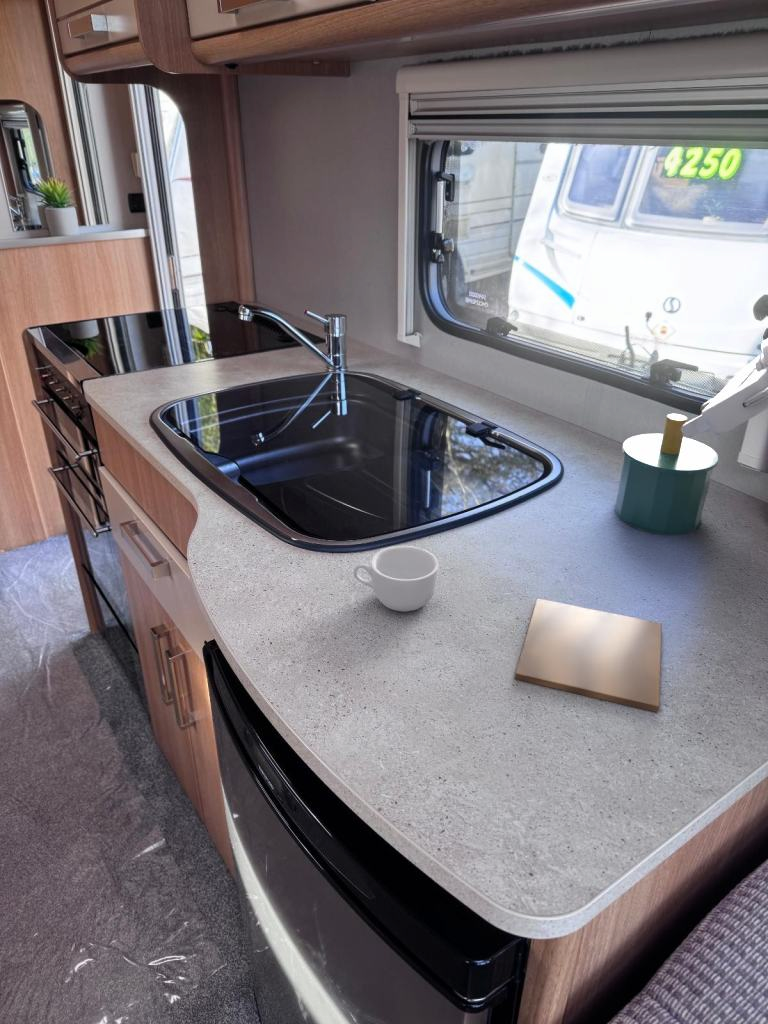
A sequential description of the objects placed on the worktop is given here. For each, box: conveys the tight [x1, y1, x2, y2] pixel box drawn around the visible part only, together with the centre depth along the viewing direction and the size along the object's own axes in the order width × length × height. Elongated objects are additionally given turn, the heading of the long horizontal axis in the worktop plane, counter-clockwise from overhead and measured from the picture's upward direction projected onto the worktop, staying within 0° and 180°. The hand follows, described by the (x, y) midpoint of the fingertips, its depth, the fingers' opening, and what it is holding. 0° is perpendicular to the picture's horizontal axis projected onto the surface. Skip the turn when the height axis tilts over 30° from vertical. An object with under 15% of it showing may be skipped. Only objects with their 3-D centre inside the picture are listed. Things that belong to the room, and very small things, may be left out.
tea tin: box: [614, 454, 714, 536], centre depth 103 cm, size 12×12×10 cm
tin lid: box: [621, 413, 720, 474], centre depth 99 cm, size 13×13×6 cm
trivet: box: [514, 597, 663, 713], centre depth 78 cm, size 14×14×1 cm
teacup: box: [353, 545, 440, 613], centre depth 85 cm, size 10×8×5 cm
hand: (694, 421), depth 97 cm, fingers open, 8 cm apart
